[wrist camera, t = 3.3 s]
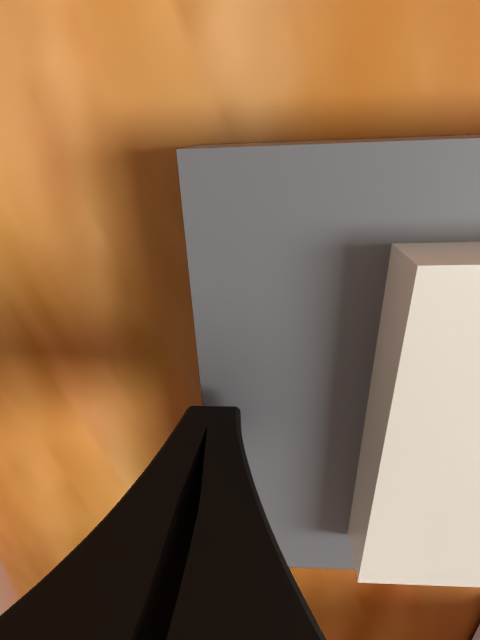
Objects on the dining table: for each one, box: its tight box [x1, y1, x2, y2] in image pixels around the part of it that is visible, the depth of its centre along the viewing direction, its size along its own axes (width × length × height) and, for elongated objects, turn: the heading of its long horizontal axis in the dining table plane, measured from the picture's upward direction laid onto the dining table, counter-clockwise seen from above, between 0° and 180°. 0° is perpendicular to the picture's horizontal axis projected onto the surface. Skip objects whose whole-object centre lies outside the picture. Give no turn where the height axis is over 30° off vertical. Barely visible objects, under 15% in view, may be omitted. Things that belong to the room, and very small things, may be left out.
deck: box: [176, 134, 480, 570], centre depth 11 cm, size 14×16×3 cm
